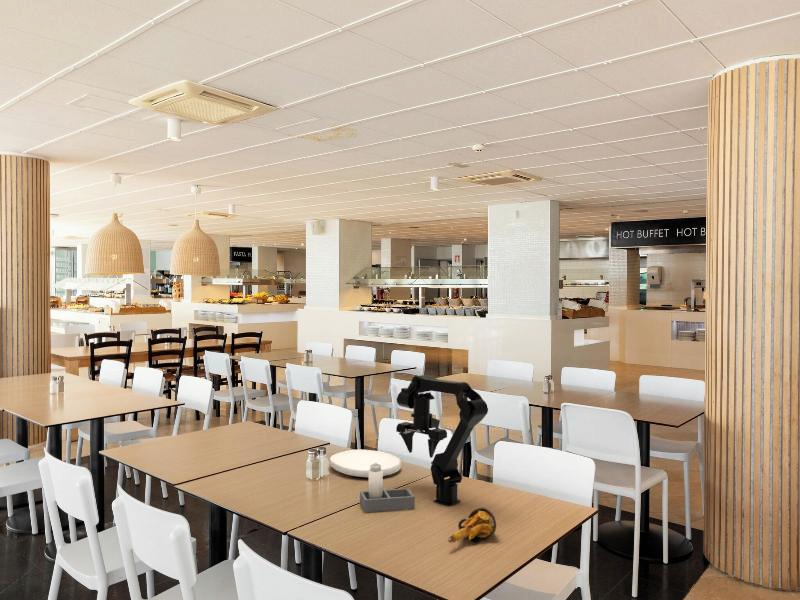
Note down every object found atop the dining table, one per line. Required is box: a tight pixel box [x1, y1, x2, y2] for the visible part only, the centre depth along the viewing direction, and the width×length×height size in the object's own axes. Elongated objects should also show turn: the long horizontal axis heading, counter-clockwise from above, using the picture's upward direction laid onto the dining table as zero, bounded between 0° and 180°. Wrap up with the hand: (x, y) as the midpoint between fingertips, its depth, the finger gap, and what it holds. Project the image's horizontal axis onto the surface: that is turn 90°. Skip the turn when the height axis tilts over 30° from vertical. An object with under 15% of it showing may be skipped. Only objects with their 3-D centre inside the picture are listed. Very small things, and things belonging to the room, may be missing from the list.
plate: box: [329, 449, 402, 478], centre depth 239 cm, size 28×6×27 cm
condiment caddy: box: [359, 487, 416, 514], centre depth 199 cm, size 16×9×4 cm, turn 104°
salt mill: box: [368, 463, 384, 499], centre depth 198 cm, size 5×5×14 cm
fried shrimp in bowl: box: [448, 507, 497, 545], centre depth 171 cm, size 9×11×18 cm
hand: (420, 455), depth 214 cm, fingers open, 9 cm apart
